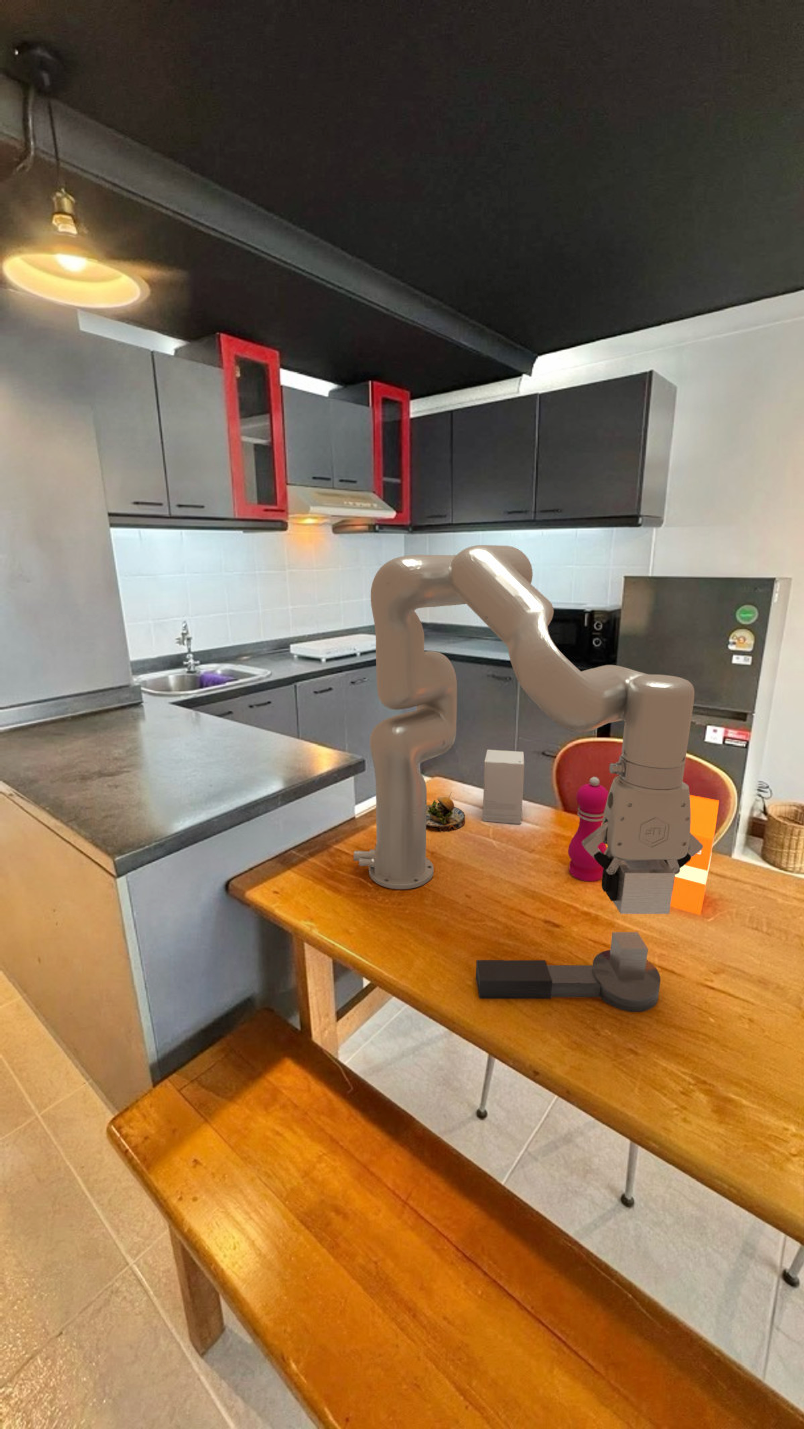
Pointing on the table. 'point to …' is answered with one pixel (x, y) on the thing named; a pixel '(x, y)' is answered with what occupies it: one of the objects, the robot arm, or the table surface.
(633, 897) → the socket
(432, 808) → the burger
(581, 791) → the pepper mill
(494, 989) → the ratchet
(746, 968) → the table surface
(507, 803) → the supplement box
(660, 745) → the robot arm
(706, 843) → the orange juice
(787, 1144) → the table surface
